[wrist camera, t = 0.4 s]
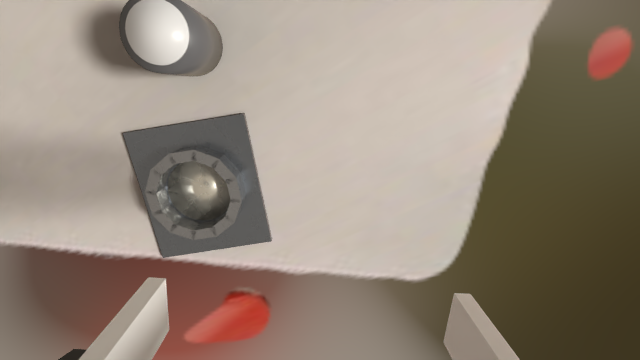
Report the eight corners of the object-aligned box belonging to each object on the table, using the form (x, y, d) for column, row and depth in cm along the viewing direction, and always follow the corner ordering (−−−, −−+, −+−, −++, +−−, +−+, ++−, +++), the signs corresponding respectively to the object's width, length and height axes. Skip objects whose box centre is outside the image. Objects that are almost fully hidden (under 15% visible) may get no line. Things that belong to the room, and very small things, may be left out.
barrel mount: (125, 132, 38) (109, 136, 35) (244, 113, 37) (238, 115, 35) (164, 255, 42) (153, 268, 39) (271, 239, 42) (268, 250, 39)
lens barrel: (154, 16, 35) (106, -4, 27) (214, 6, 34) (184, -18, 27) (171, 80, 36) (131, 78, 28) (228, 71, 36) (204, 66, 28)
